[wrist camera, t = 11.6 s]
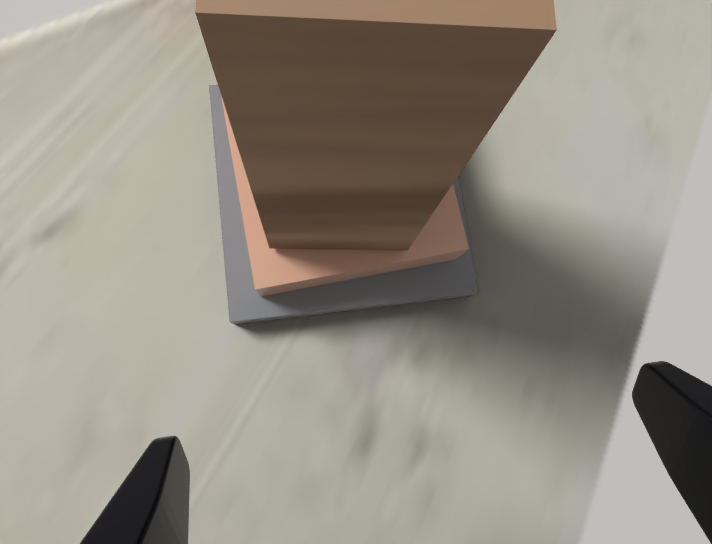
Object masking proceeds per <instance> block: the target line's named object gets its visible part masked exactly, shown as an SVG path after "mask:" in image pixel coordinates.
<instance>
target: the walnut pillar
mask: <svg viewBox="0 0 712 544" xmlns="http://www.w3.org/2000/svg"><path fill="white" fill-rule="evenodd" d="M195 13H196V16H197V19H198V22H199V26H200V29H201V32H202V35H203V38H204V42H205V45H206V48H207V51H208V54H209V57H210V61H211V64H212V67H213V70H214V73H215V77H216V80H217V83H218V86H219V89H220V93H221V96H222V99H223V102H224V105H225V108H226V112H227V115H228V118H229V121H230V124H231V128H232V131H233V134H234V137H235V140H236V144H237V147H238V150H239V153H240V156H241V159H242V163H243V166H244V169H245V172H246V175H247V179H248V182H249V185H250V188H251V191H252V194H253V198H254V201H255V204H256V207H257V210H258V214H259V217H260V220H261V223H262V226H263V230H264V233H265V236H266V239H267V242H268V245H269V248H272V249H345V250H409V248H410V247H411V245H412V244H413V242H414V241H415V239H416V238H417V236H418V235H419V233H420V232H421V230H422V229H423V227H424V226H425V224H426V223H427V221H428V220H429V218H430V217H431V215H432V214H433V213H434V211H435V210H436V208H437V207H438V205H439V204H440V202H441V201H442V199H443V198H444V196H445V195H446V193H447V192H448V190H449V189H450V187H451V186H452V184H453V183H454V181H455V180H456V178H457V177H458V175H459V174H460V172H461V171H462V169H463V168H464V167H465V165H466V164H467V162H468V161H469V159H470V158H471V156H472V155H473V153H474V152H475V150H476V149H477V147H478V146H479V144H480V143H481V141H482V140H483V138H484V137H485V135H486V134H487V132H488V131H489V129H490V128H491V126H492V125H493V123H494V122H495V121H496V119H497V118H498V116H499V115H500V113H501V112H502V110H503V109H504V107H505V106H506V104H507V103H508V101H509V100H510V98H511V97H512V95H513V94H514V92H515V91H516V89H517V88H518V86H519V85H520V83H521V82H522V80H523V79H524V77H525V76H526V75H527V73H528V72H529V70H530V69H531V67H532V66H533V64H534V63H535V61H536V60H537V58H538V57H539V55H540V54H541V52H542V51H543V49H544V48H545V46H546V45H547V43H548V42H549V40H550V39H551V37H552V36H553V34H554V33H555V31H556V30H557V29H556V20H555V10H554V0H196V11H195Z"/></svg>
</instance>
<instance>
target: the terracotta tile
mask: <svg viewBox="0 0 712 544" xmlns="http://www.w3.org/2000/svg"><path fill="white" fill-rule="evenodd" d="M221 98H222V96H221ZM222 104H223V109H224V115H225V121H226V127H227V132H228V138H229V144H230V149H231V155H232V161H233V167H234V172H235V178H236V184H237V189H238V195H239V201H240V207H241V212H242V218H243V224H244V229H245V235H246V241H247V246H248V252H249V258H250V264H251V269H252V275H253V281H254V286H255V290H256V291H257V293H258V294H259V295H260V297H262V296H267V295H273V294H278V293H283V292H288V291H294V290H299V289H304V288H309V287H315V286H320V285H325V284H330V283H336V282H341V281H346V280H351V279H357V278H362V277H367V276H372V275H378V274H383V273H388V272H393V271H399V270H404V269H409V268H414V267H420V266H425V265H430V264H435V263H441V262H446V261H451V260H455V259H457V258H458V257H459V256H461V255H462V254H463V253H465V252H466V251H467V250H469V247H468V243H467V239H466V235H465V231H464V227H463V222H462V218H461V214H460V210H459V206H458V202H457V198H456V194H455V190H454V186H453V184H452V186H451V187H450V189H449V190H448V192H447V193H446V195H445V196H444V198H443V199H442V201H441V202H440V204H439V205H438V207H437V208H436V210H435V211H434V213H433V214H432V215H431V217H430V218H429V220H428V221H427V223H426V224H425V226H424V227H423V229H422V230H421V232H420V233H419V235H418V236H417V238H416V239H415V241H414V242H413V244H412V245H411V247H410V248H409V250H345V249H272V248H269V245H268V242H267V239H266V236H265V233H264V230H263V226H262V223H261V220H260V217H259V214H258V210H257V207H256V204H255V201H254V198H253V194H252V191H251V188H250V185H249V182H248V179H247V175H246V172H245V169H244V166H243V163H242V159H241V156H240V153H239V150H238V147H237V144H236V140H235V137H234V134H233V131H232V128H231V124H230V121H229V118H228V115H227V112H226V108H225V105H224V102H223V99H222Z"/></svg>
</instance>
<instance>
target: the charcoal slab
mask: <svg viewBox="0 0 712 544" xmlns="http://www.w3.org/2000/svg"><path fill="white" fill-rule="evenodd" d="M209 89H210V100H211V112H212V123H213V135H214V146H215V158H216V169H217V181H218V192H219V204H220V216H221V227H222V239H223V250H224V262H225V273H226V285H227V296H228V308H229V319H230V322H231V323H233V324H241V323H250V322H258V321H266V320H275V319H283V318H292V317H300V316H308V315H317V314H325V313H334V312H342V311H350V310H359V309H367V308H376V307H384V306H392V305H401V304H409V303H418V302H426V301H434V300H443V299H451V298H460V297H468V296H471V295H474V294H476V293H478V287H477V281H476V275H475V269H474V263H473V257H472V251H471V245H470V239H469V233H468V227H467V221H466V215H465V209H464V203H463V198H462V192H461V186H460V180H459V175H458V177H457V178H456V180H455V181H454V183H453V186H454V190H455V194H456V198H457V202H458V206H459V210H460V214H461V218H462V222H463V227H464V231H465V235H466V239H467V243H468V247H469V250H467V251H466V252H465V253H463V254H462V255H461V256H459V257H458V258H457V259H455V260H451V261H446V262H441V263H435V264H430V265H425V266H420V267H414V268H409V269H404V270H399V271H393V272H388V273H383V274H378V275H372V276H367V277H362V278H357V279H351V280H346V281H341V282H336V283H330V284H325V285H320V286H315V287H309V288H304V289H299V290H294V291H288V292H283V293H278V294H273V295H267V296H262V297H260V295H259V294H258V293H257V291H256V290H255V286H254V281H253V275H252V269H251V264H250V258H249V252H248V246H247V241H246V235H245V229H244V224H243V218H242V212H241V207H240V201H239V195H238V189H237V184H236V178H235V172H234V167H233V161H232V155H231V149H230V144H229V138H228V132H227V127H226V121H225V115H224V109H223V104H222V98H221V93H220V89H219V86H218V85H209Z"/></svg>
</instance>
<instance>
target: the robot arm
mask: <svg viewBox="0 0 712 544" xmlns="http://www.w3.org/2000/svg"><path fill="white" fill-rule="evenodd" d="M632 398H633V402H634V405H635V407H636V409H637V411H638V413H639V415H640V417H641V419H642V421H643V423H644V425H645V428H646V430H647V432H648V434H649V436H650V438H651V440H652V442H653V444H654V446H655V448H656V450H657V452H658V454H659V456H660V458H661V460H662V462H663V464H664V466H665V468H666V470H667V472H668V474H669V476H670V477H671V479H672V481H673V482H674V484H675V486H676V488H677V489H678V491H679V492H680V494H681V496H682V497H683V499H684V500H685V502H686V504H687V505H688V507H689V509H690V510H691V512H692V513H693V515H694V517H695V518H696V520H697V522H698V523H699V525H700V526H701V528H702V529H703V531H704V533H705V534H706V536H707V538H708V539H709V541H710V542H711V544H712V386H711V385H709V384H707V383H705V382H703V381H701V380H699V379H698V378H696V377H694V376H692V375H690V374H689V373H686V372H685V371H683V370H681V369H679V368H677V367H676V366H674V365H672V364H670V363H668V362H664V361H659V362H652V363H647V364H644V365H643V366H642V367H641V369H640V371H639V374H638V377H637V380H636V383H635V386H634V388H633V392H632ZM189 485H190V470H189V464H188V461H187V458H186V456H185V453H184V450H183V448H182V445H181V443H180V440H179V439H178V437H176V436H169V437H162V438H157V439H155V440H153V441H152V442H151V443H150V445H149V446H148V448H147V449H146V450H145V452H144V453H143V455H142V456H141V457H140V459H139V460H138V462H137V463H136V465H135V466H134V467H133V469H132V470H131V472H130V473H129V475H128V476H127V477H126V479H125V480H124V482H123V483H122V484H121V486H120V487H119V489H118V490H117V492H116V493H115V494H114V496H113V497H112V499H111V500H110V502H109V503H108V504H107V506H106V507H105V509H104V510H103V511H102V513H101V514H100V516H99V517H98V519H97V520H96V521H95V523H94V524H93V526H92V527H91V529H90V530H89V531H88V533H87V534H86V536H85V537H84V538H83V540H82V541H81V543H80V544H188V521H189Z"/></svg>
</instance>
